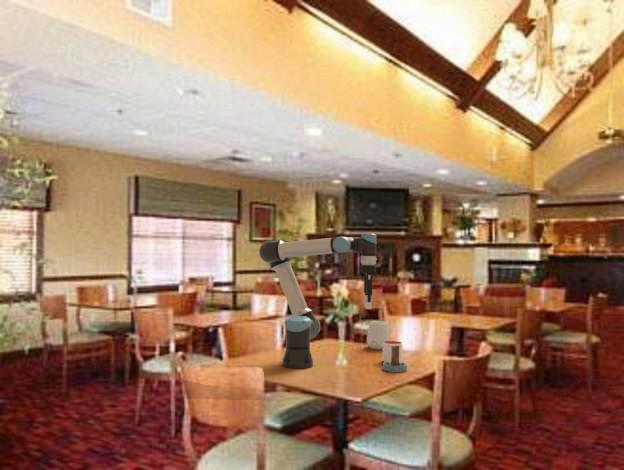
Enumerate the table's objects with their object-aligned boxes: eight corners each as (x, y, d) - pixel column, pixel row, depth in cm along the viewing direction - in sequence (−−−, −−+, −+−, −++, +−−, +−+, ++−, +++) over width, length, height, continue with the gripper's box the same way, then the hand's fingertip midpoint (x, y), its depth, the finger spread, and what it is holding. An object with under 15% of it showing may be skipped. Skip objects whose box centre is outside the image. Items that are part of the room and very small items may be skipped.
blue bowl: (384, 371, 277) (384, 364, 277) (382, 367, 288) (382, 359, 288) (407, 372, 276) (408, 364, 276) (404, 367, 287) (404, 360, 287)
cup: (401, 364, 295) (401, 344, 295) (381, 363, 297) (382, 343, 297) (402, 360, 305) (402, 341, 305) (383, 359, 307) (383, 340, 307)
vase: (394, 347, 344) (395, 321, 345) (384, 350, 332) (385, 324, 333) (373, 344, 352) (373, 319, 352) (362, 348, 340) (362, 321, 340)
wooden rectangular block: (391, 368, 281) (392, 345, 281) (391, 367, 283) (391, 345, 283) (398, 369, 281) (399, 346, 281) (398, 368, 283) (398, 345, 283)
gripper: (378, 265, 279) (377, 310, 278) (373, 263, 303) (373, 305, 303) (362, 265, 279) (361, 310, 278) (359, 263, 304) (358, 304, 303)
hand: (367, 307), depth 291 cm, fingers open, 13 cm apart
